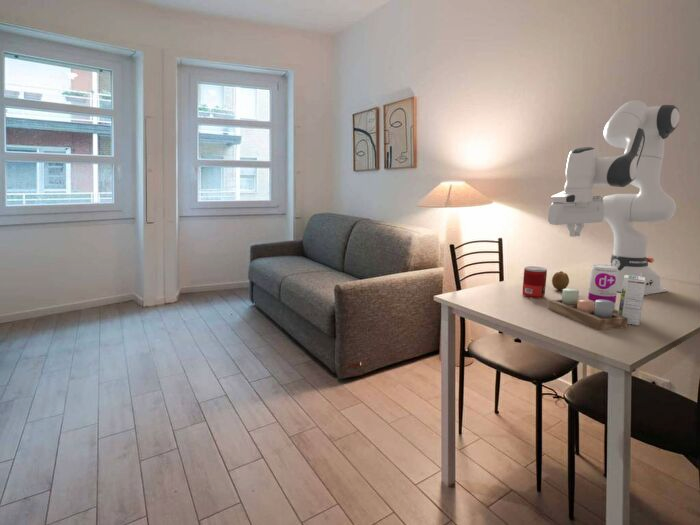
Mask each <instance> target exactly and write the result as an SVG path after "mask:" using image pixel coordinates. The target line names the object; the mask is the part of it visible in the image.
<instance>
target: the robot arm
mask: <svg viewBox="0 0 700 525" xmlns="http://www.w3.org/2000/svg"><path fill="white" fill-rule="evenodd" d="M679 123H680V111H679V108H678V107H676V105H674V104H661V105H657V106H654V105H653V106H647V104H646V103H645V102H643V101H642V100H637V99H635V100H630V101H627V102H624V103H623V104H622V105H621V106H620V107H619V108H618V109H617V110H615V112H614V113H613V114H612V115H611V117H610V118H609V120H608V121H607V123H606V124H605V126H604V129H603V137H604V138H603V139H604V140H605V141H606V142H607V143H608V144H609V146H612V147H614V148H617V149H623V150H624V153H623V154H621V155H618V156H605V157H598V156H596V155H597V154H596V148H594V147H591V146H586V147H585V146H584V147H579V148H574V149H572V150H570V152H569V153H568V157H567V162H566V166H565V167H566V168H565V181H566V182H565V184H564V188H563V191H560V192H558V193H556V194H554V195H552V196H550V202H551V204H550V205H549V208H548V214H547V222H548V223H549V224H550V225H555V226H561V225H566V227H567V229H568V231H569V237H571V238H572V237H580V236H581V232H582V231H583V229H584V228H585V224H588V223H589V224H591V223H602V222H604V221H606V223H608V225H609V226H610V228H611V230H612V233H613V251H612V254H611V257H610V264H611V266H616V267H618V270H619V279H618V287H617V292H618V293H621V291H622V286H623V280H624V276H625V275H633V276H640V277H645V278H646V283H645V291H644V296H647V295H653V294H659V293H665V292H667V290H668V289H667V288H665V287H663V286H660V285H661V278H660V276H659V274H658V273H656V271H655V270H653V269H652V268H650V266H649V263H651V264H652V263H654V261H655V259H654V257H649V256H648V257H647V256H646V255H647V248H648V241H649V240H648V238H647V235H645V234H644V233H643V232H641V231H639V230H637V229H636V228H635V227H634V225H633V222H634V223H651V224H652V223H663V222H668V221H669V220H671V219H672V217H673V216H674V215H675V214H676V212H677V203H676V202H675V199H674V198H673V197H672V196H670V195H669V194H668V193H667V192H666V191H665V190H664V189H663V187H662V185H661V184H662V183H661V173H662V172H661V171H662V166H663V162H664V157H665V139H667V138H668V137H669V136H670V134H672V133H674V132H675V130H676V129H677V128H678V125H679ZM628 185H631V186H633V187H635V188H637V189H639V192H638V193H614V194H609V195H605V196H603V197H602V196H601V195H594V191H595V190H594V189H595V187H617V188H618V187H619V188H624V187H627V186H628ZM575 227H576V228H575Z"/></svg>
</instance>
